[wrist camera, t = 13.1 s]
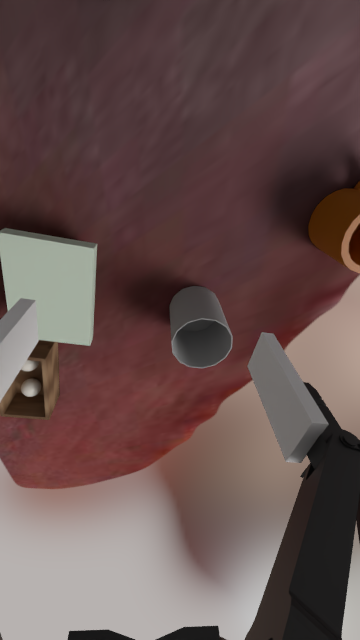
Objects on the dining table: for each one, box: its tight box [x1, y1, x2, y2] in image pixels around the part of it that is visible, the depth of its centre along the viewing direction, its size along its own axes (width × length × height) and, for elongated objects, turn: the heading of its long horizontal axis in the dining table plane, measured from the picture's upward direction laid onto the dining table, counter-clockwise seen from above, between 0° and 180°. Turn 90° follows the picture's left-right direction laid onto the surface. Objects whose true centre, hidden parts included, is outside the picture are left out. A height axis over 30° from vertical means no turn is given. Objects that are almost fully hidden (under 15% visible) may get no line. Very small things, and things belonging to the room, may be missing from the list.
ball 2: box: [21, 378, 41, 397], centre depth 50 cm, size 3×3×3 cm
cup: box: [169, 286, 232, 368], centre depth 42 cm, size 8×8×10 cm
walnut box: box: [0, 340, 60, 420], centre depth 48 cm, size 14×8×6 cm, turn 169°
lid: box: [0, 228, 97, 346], centre depth 38 cm, size 15×11×2 cm
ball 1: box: [21, 360, 39, 371], centre depth 47 cm, size 3×3×3 cm
